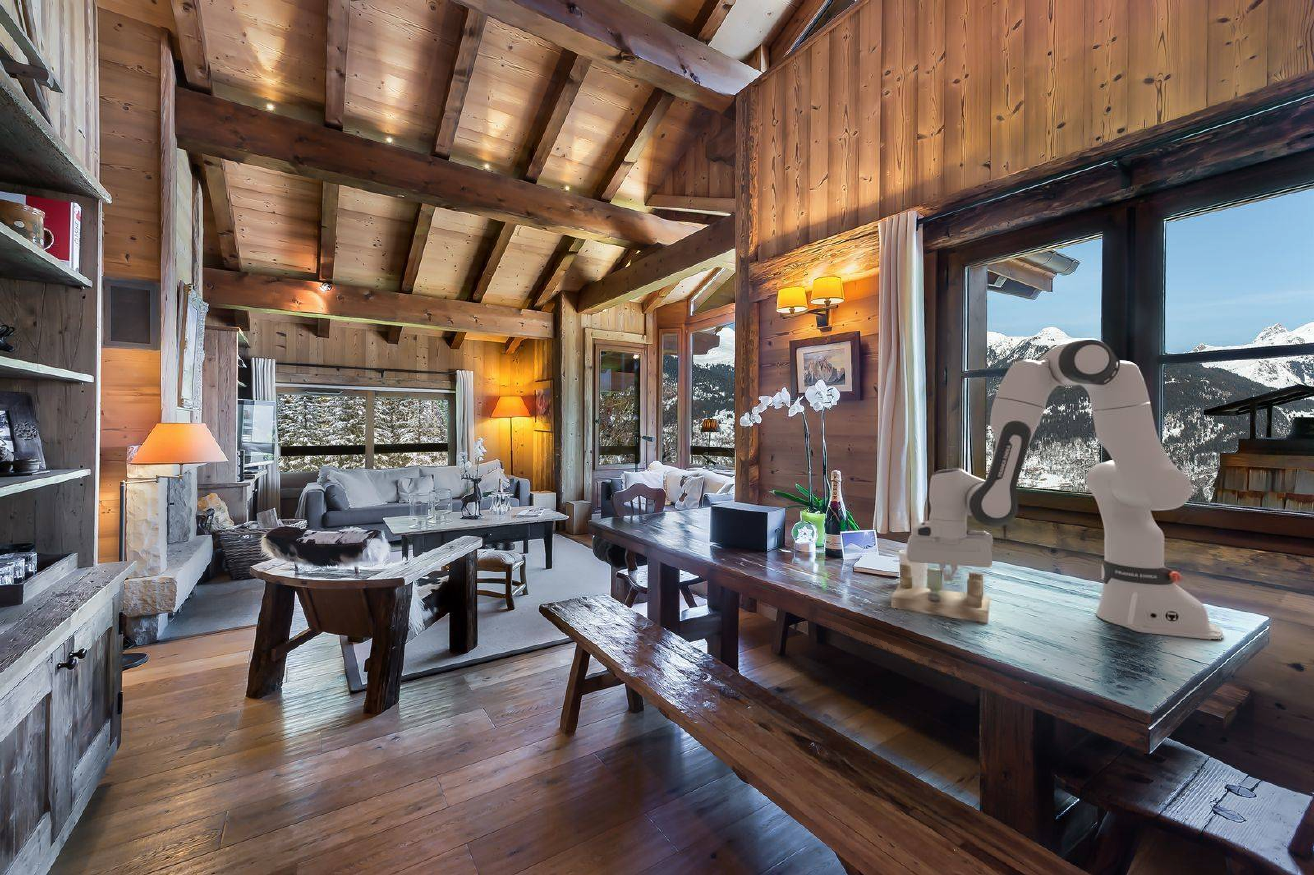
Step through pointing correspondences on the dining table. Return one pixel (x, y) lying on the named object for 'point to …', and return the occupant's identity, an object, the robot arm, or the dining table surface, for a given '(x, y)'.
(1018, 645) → the dining table surface
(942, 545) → the robot arm
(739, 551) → the dining table surface
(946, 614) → the wooden base with posts
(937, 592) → the folding leg
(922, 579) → the white cup
